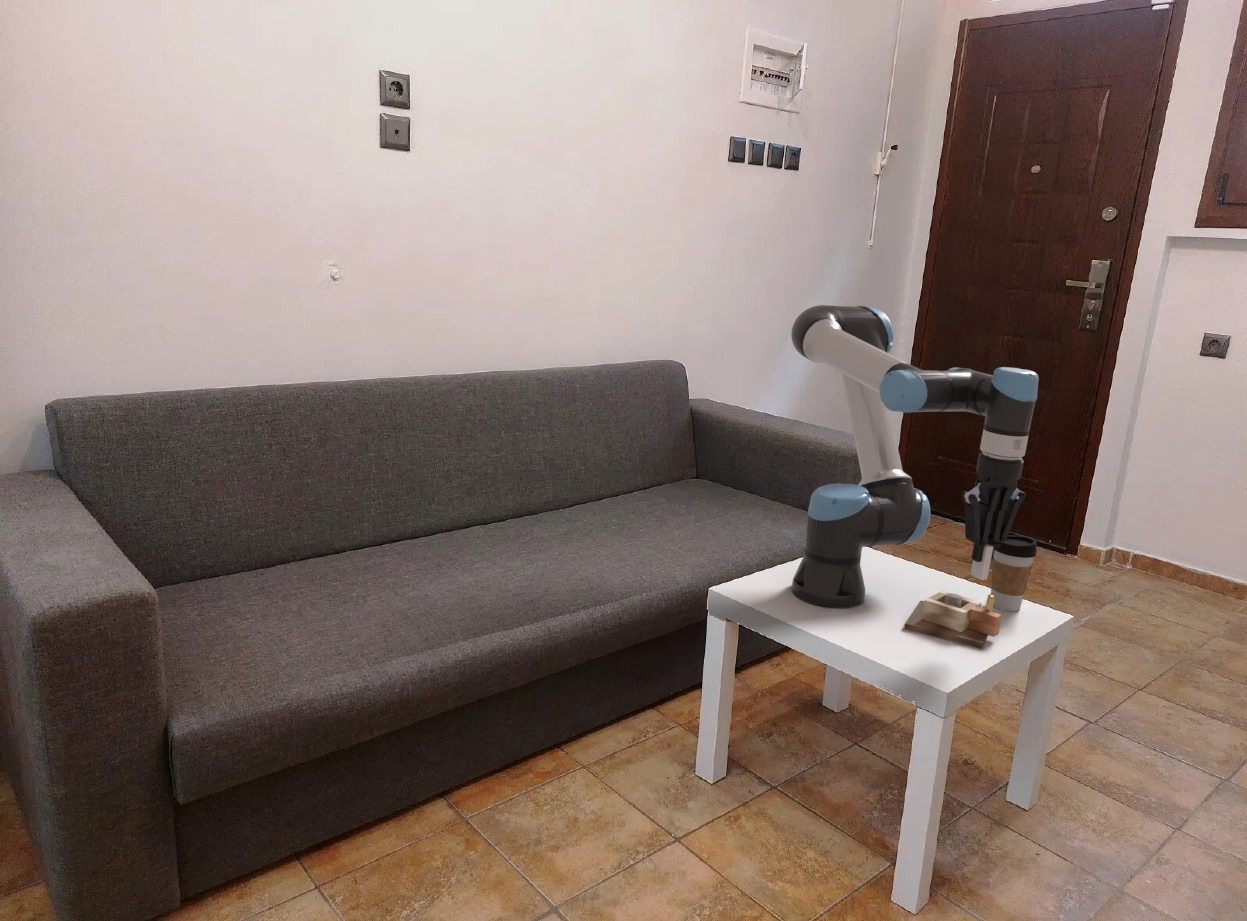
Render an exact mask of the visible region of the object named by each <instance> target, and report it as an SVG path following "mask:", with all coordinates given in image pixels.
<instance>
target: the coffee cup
mask: <svg viewBox="0 0 1247 921" xmlns="http://www.w3.org/2000/svg"><path fill="white" fill-rule="evenodd" d="M1037 542H1038V541H1037V540H1036V539H1033V538H1032V537H1028V536H1025V535H1010V534H1008V537H1007V539H1006V541H1005V542H1002V541H1001V542H999V543H1000V544H1001V546H1000V547H996V546H995V551H994V557H993V560H992V566H991V567H992V568H991V579H990V580H991V582H990V583H991V585H990V588H991V589H990V595H994V596H995V598H994V603H993V608H995V609H997V610H1001V611H1005V612H1018V611H1020V610H1021V606H1022V603H1023V600H1024V595H1025V592H1026V588H1027V586H1028V583H1029V580H1030V579H1029V578H1030V575H1031V572H1032V568H1033V565H1034V563H1033V560H1034V558H1035V557H1036V556H1037V553H1038V550H1037V547H1038V546H1037V545H1038V544H1037Z"/></svg>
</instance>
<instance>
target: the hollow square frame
mask: <svg viewBox="0 0 1247 921" xmlns="http://www.w3.org/2000/svg"><path fill="white" fill-rule="evenodd" d="M947 593H950V592H948V591H945V590H940V591H939V592H937V593H935V594H933V595H930V596H929V597H927V598H926V599H924V600H923V601H924V608H923V615H922V619H924V620H927V621H930V622H933V623H936V624H939V625H941V626H944V627H947V628H950V629H953V630H956V631H959V632H963V631H964V630H966V629H968V628H969V629H972V630H975V631H978V632H981V633H984V634H987V635H988V637H989V636H990V637H992V638H994V637H996V636H997V635H999V632H1000V631H999V630H1000V626H1001V618H1002V614H1001V613H997V612H993V611H992V612H991V611H988V610H986V608H982V602H980V601H977V600H974V599H972V598H968V597H965V596H962V601H961V608H957V607H954V606H951V605H948V604H945V597H946V594H947Z"/></svg>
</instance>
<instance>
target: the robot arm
mask: <svg viewBox="0 0 1247 921" xmlns="http://www.w3.org/2000/svg"><path fill="white" fill-rule="evenodd" d="M790 338H791V343H792V345H793V346H794V349H795V350H796V351H797V352H798V354H800V355H801V356H802V357H803V358H805V359H807V360H809V361H810V362H813V363H816V364H826V365H828V367H829V366H830V367H831V368H833V369H834V372H835V373H837V374H839V375H840V376H841V377H842V380H843V381H842V382H843V385H844V391H845V395H846V397H845V398H846V400H847V401H846V402H847V406H848V407H847V408H848V411H849V417H850V422H851V426H852V432H853V438H854V442H855V449H856V453H857V458H858V463H859V464H858V465H859V468H860V469H859V470H860V474H861V475H860V476H861V480H860V481H859V483H858V484H853V483H845V484H844V483H839V482H838V483H829V484H825V485H822V486H820V487H819V486H818V487H817V488H816V489H815V490H813V492H812V494H811V497H810V499H809V500H810V501H809V504H808V505H809V506H808V508H807V513H808V514H807V523H806V524H807V525H806V533H805V543H804V551H803V552H804V553H803V556H802V559H801V561H800V563H799V565H798V568H797V570H796V571H795V574H794V576H793V578H792V584H791V592H792V593H793V595H795V596H796V597H797V598H799V599H800V600H802V601H804V602H806V603H810V604H813V605H816V606H820V607H827V608H835V609H841V608H842V609H846V608H847V609H848V608H854V607H858V606H860V605H862V604H863V603H864V601H865V597H866V596H865V595H866V586H865V581H864V577H863V571H862V566H861V559H862V551H863V547H864V548H865V547H877V546H888V545H889V546H890V545H895V546H900V545H904V544H910V543H914V542H916V541H918V540H920V539H921V538H922V536H924V534H925V533H926V531H927V528H928V527H929V525H930V521H931V505H930V501H929V499H928V496H927V495H926V494H924V492H923V491H922V490H920V489H918V488H915V487H914V484H913V478H912V477H911V476H910V475H909V474H907V473H906V472H905V471H904V470H903V466H902V461H901V456H900V453H899V447H898V442H897V436H896V432H895V428H894V422H893V417H892V412H898V413H899V412H900V413H905V414H909V413H924V412H925V413H926V412H927V413H929V412H933V413H934V412H940V413H941V412H942V413H943V412H967V413H971V414H972V413H973V414H976V415H979V416H982V417H985V418H984V425H983V430H982V436H981V439H980V440H981V441H980V445H979V450H980V451H981V452H980V453H979V454H978V457H977V463H976V469H975V471H976V474H977V479H976V481H975V482H974V486H973V488H972V489H971V490H969V491H966V490H963V491H962V493H961V497H962V500H963V502H964V525H965V526H964V528H965V529H964V530H965V533H964V534H965V536H964V537H965V540H968V541H970V542H972V543H973V548H972V554H971V559H972V564H971V571H970V575H971V576H972V577H974V578H976V579H978V580H980V581H987V580H988V578H989V577H988V576H989V573H990V572H989V571H990V566H991V562H993V557H994V551H995V546H996V547H1000V546H1001V544H1000V543H999V542H1001V541H1002V542H1005V541H1006V539H1007V537H1008V535H1010V532H1011V529H1012V526H1013V524H1014V521H1015V519H1016V516H1017V515H1018V511H1019V508H1020V507H1021V504H1022V502H1024V500H1025V498H1026V497H1027V493H1026V492H1024V491H1021V490H1020V489H1019V488H1018V482H1017V481H1018V480H1020V479H1021V478H1022V473H1023V472H1022V471H1023V468H1024V460H1023V458H1022V457H1024V456H1025V455H1026V450H1027V446H1028V441H1029V440H1028V439H1029V435H1030V429H1031V424H1032V421H1033V420H1032V419H1033V414H1034V410H1035V406H1036V402H1037V400H1038V390H1039V389H1038V388H1039V380H1040V378H1039V374H1038V373H1036V372H1035V371H1033V370H1029V369H1022V368H1019V367H1007V366H1002V367H1001V366H1000V367H997V368H995V369H994V371H993V374H988V373H984V372H981V371H976V370H973V369H971V368H964V367H951V368H949V369H947V370H932V369H931V370H930V369H929V370H923V369H920V368H918V367H916V366H914V365H912V364H910V363H908V362H906V361H905V360H903V359H901V358H898V357H896V356H894V355H892V354H890V352H891V350H892V347H893V343H892V342H893V341H894V329H893V325H892V323H891V320H890V318H889V317H888V315H887V314H885V312H883V311H882V310H880V309H878V308H876V307H869V306H865V305H857V306H847V305H827V304H820V305H814V306H811V307H809V308H807V309H805V310H803V311H802V312H801V313H800V314H799V315H798V316H797V317H796V318H795V320H794V323H793V324H792V328H791V337H790Z"/></svg>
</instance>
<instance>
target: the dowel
mask: <svg viewBox="0 0 1247 921" xmlns="http://www.w3.org/2000/svg"><path fill="white" fill-rule="evenodd" d="M994 598H995V596H994V595H991V594H988V595H987V599H986V605H985V610H988V611H991V612H993V608H994V607H993V603H994Z"/></svg>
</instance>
